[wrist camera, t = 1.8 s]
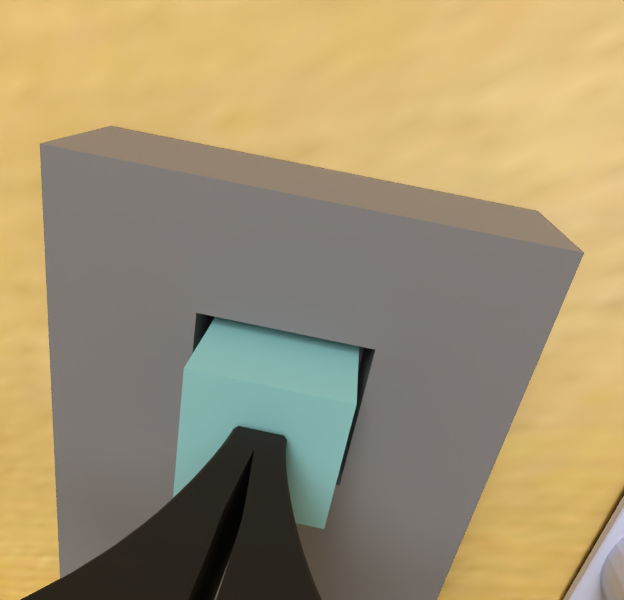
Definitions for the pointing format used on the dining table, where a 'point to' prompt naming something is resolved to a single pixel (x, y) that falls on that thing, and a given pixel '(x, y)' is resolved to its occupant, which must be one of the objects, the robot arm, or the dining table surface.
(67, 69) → the dining table surface
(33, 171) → the dining table surface
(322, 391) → the teal key
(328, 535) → the panel
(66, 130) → the dining table surface
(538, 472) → the dining table surface
